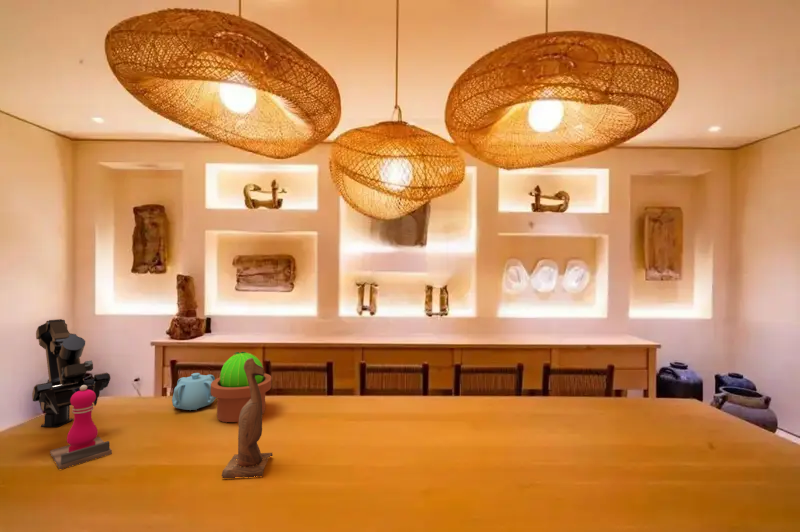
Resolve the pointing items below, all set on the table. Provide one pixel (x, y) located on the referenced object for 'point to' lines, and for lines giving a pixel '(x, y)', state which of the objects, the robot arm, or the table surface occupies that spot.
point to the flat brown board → (80, 453)
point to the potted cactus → (236, 387)
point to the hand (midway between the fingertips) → (77, 408)
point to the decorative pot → (193, 392)
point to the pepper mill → (82, 420)
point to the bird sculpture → (249, 431)
